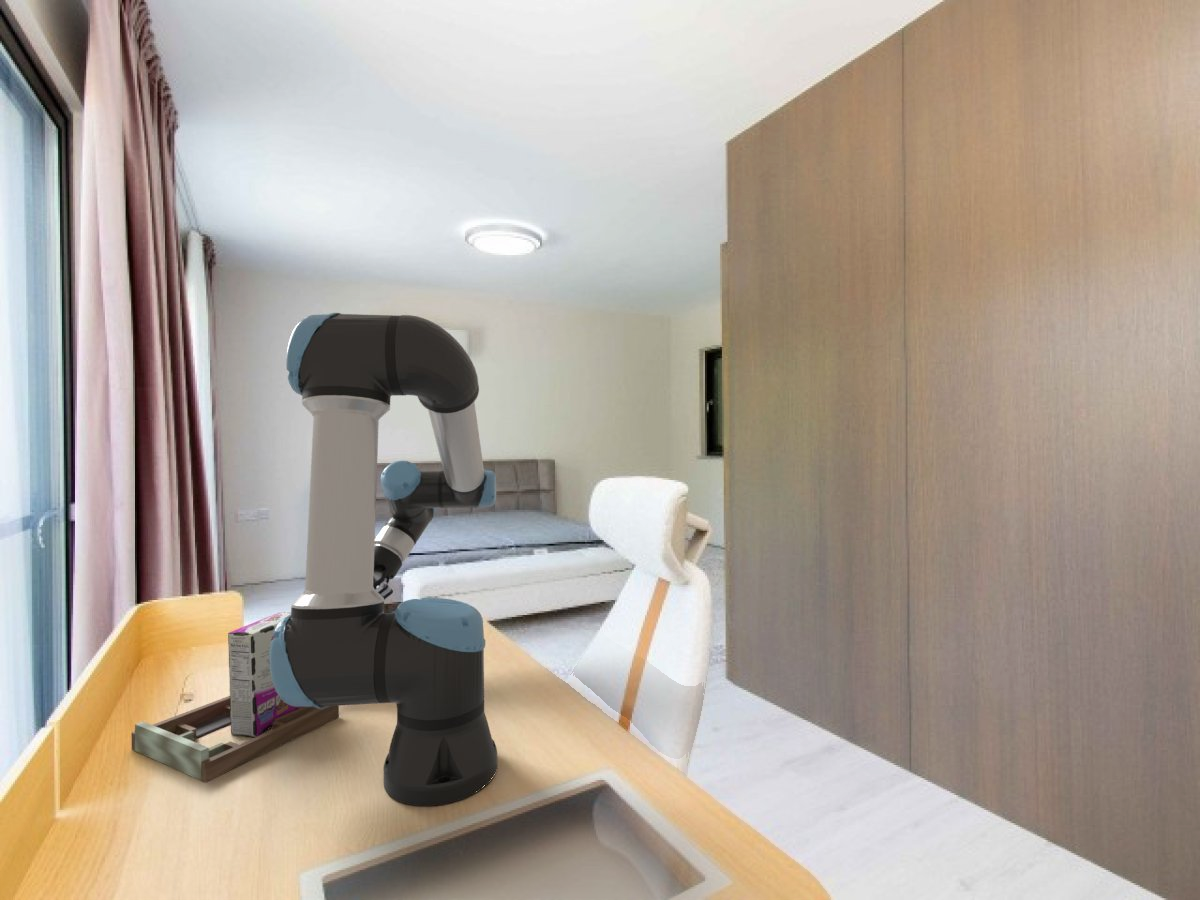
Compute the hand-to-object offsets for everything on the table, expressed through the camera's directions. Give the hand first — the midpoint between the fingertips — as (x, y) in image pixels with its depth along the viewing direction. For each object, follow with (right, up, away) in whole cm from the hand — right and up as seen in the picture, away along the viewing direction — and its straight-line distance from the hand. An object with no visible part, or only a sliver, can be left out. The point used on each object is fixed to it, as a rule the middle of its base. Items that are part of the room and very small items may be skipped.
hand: (314, 662), depth 104 cm
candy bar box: (-4, -7, -8) cm, 11 cm away
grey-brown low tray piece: (-6, -7, -12) cm, 15 cm away
